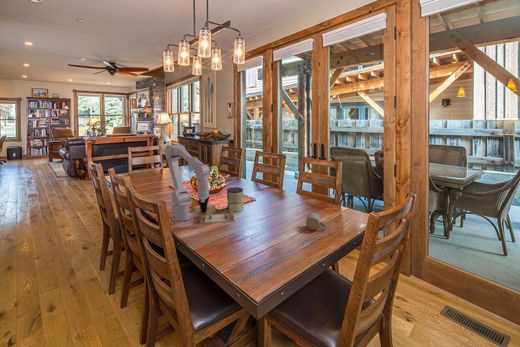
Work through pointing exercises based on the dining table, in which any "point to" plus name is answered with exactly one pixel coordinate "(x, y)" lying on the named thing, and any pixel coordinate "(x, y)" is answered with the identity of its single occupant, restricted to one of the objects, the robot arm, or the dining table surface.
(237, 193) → the coffee can
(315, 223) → the ceramic mug
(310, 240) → the dining table surface
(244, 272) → the dining table surface
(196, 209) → the tan wooden block
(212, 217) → the peg plate
